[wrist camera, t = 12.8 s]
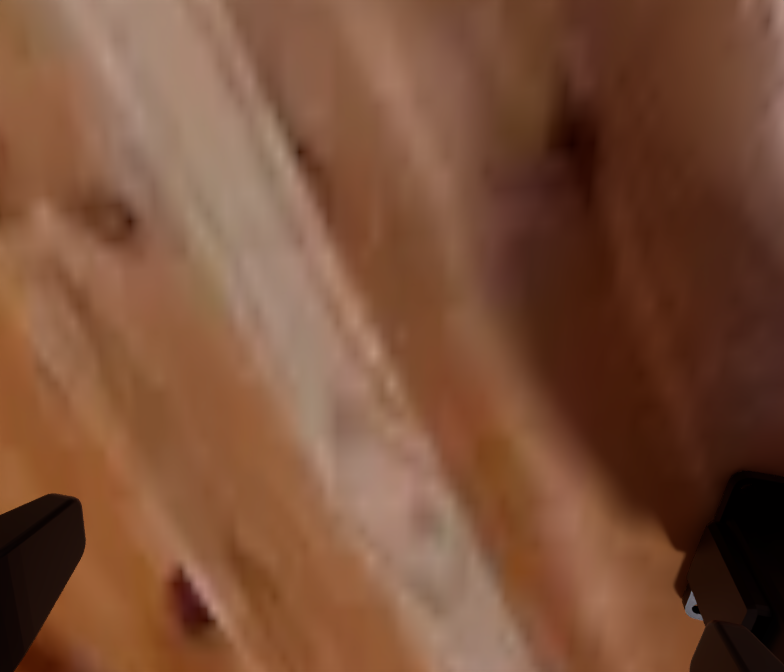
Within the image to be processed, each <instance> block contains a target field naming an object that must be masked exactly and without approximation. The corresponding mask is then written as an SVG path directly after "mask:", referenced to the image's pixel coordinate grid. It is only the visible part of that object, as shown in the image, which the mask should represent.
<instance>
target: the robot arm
mask: <svg viewBox="0 0 784 672" xmlns="http://www.w3.org/2000/svg"><path fill="white" fill-rule="evenodd" d="M745 484H752V485H751V486H750V487H749V488H747V489H741V487H742V486H743V485H745ZM85 543H86V538H85V529H84V520H83V512H82V505H81V502H80V501H79V499H77V498H76V497H72V496H67V495H61V494H56V493H52V494H48V495H45V496H42V497H40V498H38V499H36V500H33V501H31V502H29V503H26V504H24V505H22V506H20V507H17V508H15V509H13V510H10V511H8V512H6V513H4V514H1V515H0V672H14V671H15V669H16V668H17V666H18V665H19V663H20V662H21V660H22V659H23V657H24V656H25V654H26V653H27V651H28V650H29V648H30V646H31V645H32V643H33V641H34V640H35V638H36V636H37V635H38V633H39V631H40V629H41V628H42V626H43V624H44V622H45V621H46V619H47V617H48V615H49V614H50V612H51V610H52V608H53V607H54V605H55V603H56V601H57V600H58V598H59V596H60V594H61V593H62V591H63V589H64V587H65V586H66V584H67V582H68V580H69V579H70V577H71V575H72V573H73V572H74V570H75V568H76V566H77V565H78V563H79V561H80V559H81V557H82V555H83V552H84V549H85ZM687 580H688V582H689V583H688V586H687V588H686V591H685V593H684V596H683V598H682V603H683V606H684V609H685V611H686V614H687V615H688V616H690V617H692V618H694V619H699V620H703V621H704V624H705V626H706V627H705V629H704V632H703V634H702V636H701V639H700V641H699V643H698V646H697V648H696V650H695V653H694V655H693V657H692V660H691V664H690V672H784V477H781V476H776V475H770V474H764V473H758V472H752V471H741V472H738V473H736V474H734V475H733V476H732V477H731V478H730V480H729V482H728V485H727V487H726V490H725V492H724V495H723V497H722V500H721V502H720V505H719V507H718V510H717V512H716V515H715V517H714V520H713V521H712V522H710V523H709V524H708V525H707V526H706V528H705V530H704V533H703V535H702V538H701V541H700V543H699V546H698V548H697V551H696V553H695V556H694V558H693V561H692V563H691V566H690V569H689V571H688V574H687ZM696 604H697V606H694V605H696Z"/></svg>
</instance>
